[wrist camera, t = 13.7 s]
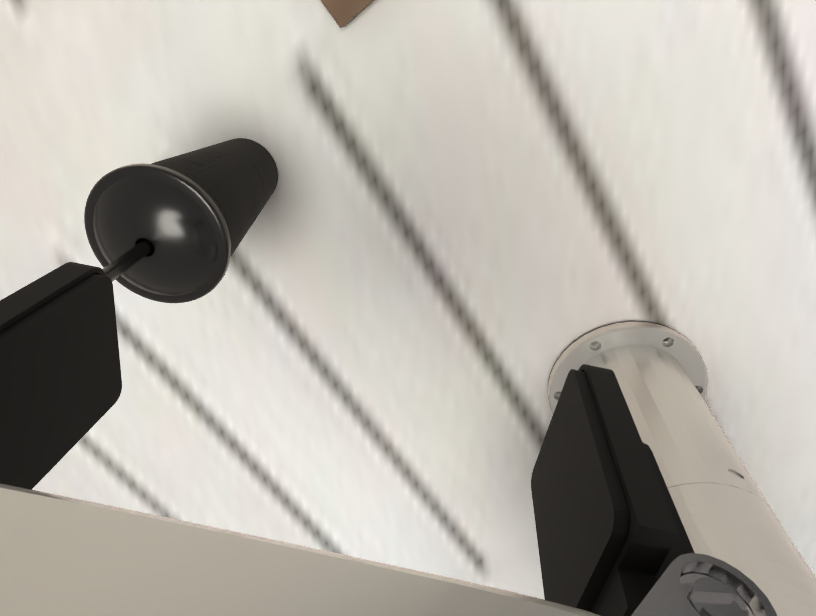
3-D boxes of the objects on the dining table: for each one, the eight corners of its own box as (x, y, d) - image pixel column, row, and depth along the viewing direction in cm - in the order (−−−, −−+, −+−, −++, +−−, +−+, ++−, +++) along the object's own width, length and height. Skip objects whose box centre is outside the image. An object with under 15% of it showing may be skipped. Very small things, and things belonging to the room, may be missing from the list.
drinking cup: (203, 218, 43) (23, 363, 25) (187, 115, 39) (-36, 200, 22) (300, 224, 42) (185, 375, 25) (293, 120, 39) (152, 211, 21)
